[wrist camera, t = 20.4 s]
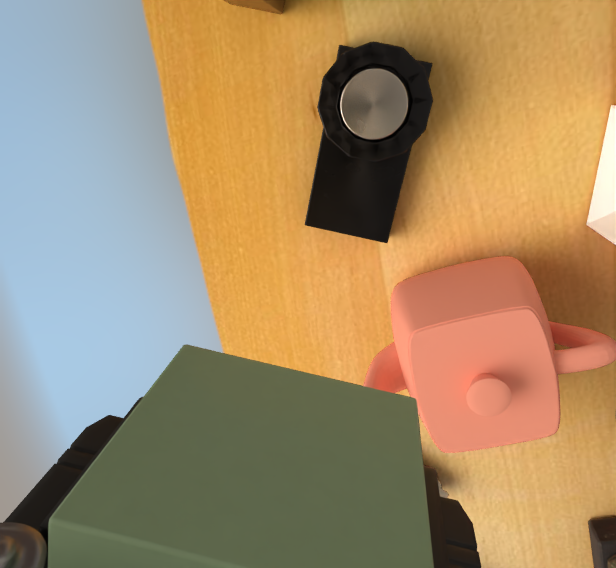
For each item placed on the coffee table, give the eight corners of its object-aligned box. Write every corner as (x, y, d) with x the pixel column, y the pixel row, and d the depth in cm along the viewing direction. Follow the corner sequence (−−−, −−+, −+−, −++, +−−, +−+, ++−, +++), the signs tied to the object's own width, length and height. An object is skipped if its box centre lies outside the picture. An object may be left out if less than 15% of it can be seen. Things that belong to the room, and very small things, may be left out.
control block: (336, 37, 36) (331, 32, 32) (439, 58, 35) (444, 55, 32) (301, 218, 40) (294, 230, 37) (393, 238, 40) (394, 252, 37)
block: (184, 342, 10) (45, 519, 6) (417, 397, 10) (440, 621, 6) (163, 521, 12) (43, 757, 8) (363, 572, 12) (352, 846, 8)
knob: (350, 63, 33) (347, 62, 31) (413, 76, 33) (415, 75, 31) (336, 129, 35) (333, 132, 33) (397, 142, 35) (398, 145, 33)
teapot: (589, 369, 41) (652, 456, 32) (360, 413, 45) (354, 502, 36) (565, 227, 38) (627, 275, 28) (321, 288, 42) (301, 349, 32)
